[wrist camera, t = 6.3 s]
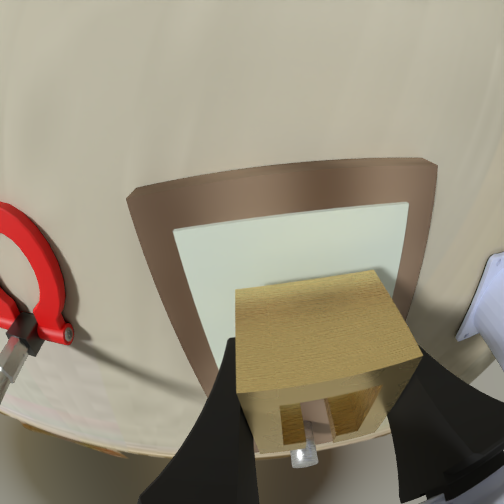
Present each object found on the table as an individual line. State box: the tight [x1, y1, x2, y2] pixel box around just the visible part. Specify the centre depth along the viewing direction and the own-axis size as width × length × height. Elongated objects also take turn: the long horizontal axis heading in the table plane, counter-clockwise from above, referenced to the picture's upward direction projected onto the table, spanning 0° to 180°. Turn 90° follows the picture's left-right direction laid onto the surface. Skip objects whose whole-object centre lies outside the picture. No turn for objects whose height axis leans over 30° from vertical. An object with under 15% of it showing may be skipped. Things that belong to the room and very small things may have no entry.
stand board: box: [126, 158, 438, 453], centre depth 17 cm, size 12×27×1 cm, turn 7°
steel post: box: [290, 420, 318, 468], centre depth 18 cm, size 2×2×4 cm
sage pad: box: [173, 202, 409, 369], centre depth 12 cm, size 9×9×1 cm
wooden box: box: [235, 270, 423, 454], centre depth 9 cm, size 5×6×4 cm
